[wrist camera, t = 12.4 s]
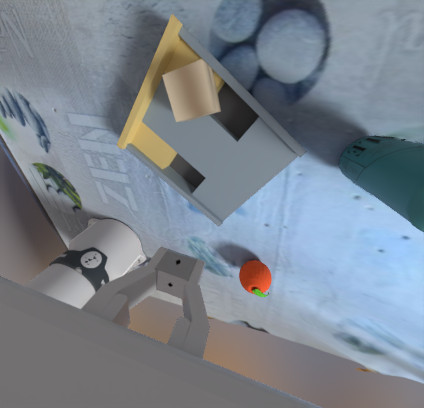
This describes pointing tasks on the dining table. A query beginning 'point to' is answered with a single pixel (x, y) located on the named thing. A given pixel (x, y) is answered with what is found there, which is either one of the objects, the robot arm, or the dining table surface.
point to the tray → (205, 134)
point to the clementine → (255, 277)
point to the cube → (192, 91)
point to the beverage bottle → (389, 173)
